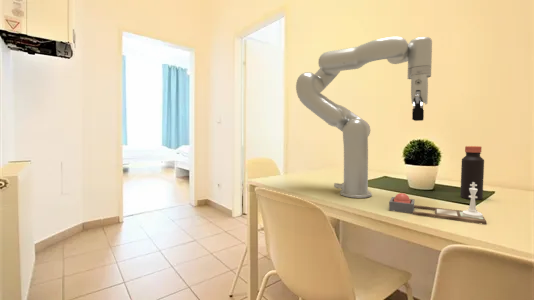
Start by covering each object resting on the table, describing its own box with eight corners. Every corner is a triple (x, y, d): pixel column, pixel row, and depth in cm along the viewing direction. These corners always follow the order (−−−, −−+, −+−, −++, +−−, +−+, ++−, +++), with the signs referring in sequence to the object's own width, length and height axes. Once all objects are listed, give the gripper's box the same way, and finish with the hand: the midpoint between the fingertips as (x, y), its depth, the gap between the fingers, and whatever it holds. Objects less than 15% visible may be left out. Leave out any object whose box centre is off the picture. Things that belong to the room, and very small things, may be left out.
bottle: (457, 195, 106) (459, 145, 104) (478, 196, 103) (480, 146, 102) (463, 199, 99) (465, 147, 98) (485, 200, 97) (488, 147, 95)
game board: (412, 214, 83) (412, 211, 83) (414, 207, 90) (414, 204, 90) (486, 224, 73) (486, 221, 73) (481, 215, 81) (481, 212, 81)
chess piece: (487, 218, 76) (488, 184, 75) (468, 217, 76) (469, 184, 75) (475, 212, 80) (477, 180, 80) (458, 212, 81) (459, 180, 80)
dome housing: (389, 210, 87) (389, 201, 87) (391, 205, 93) (392, 196, 93) (413, 213, 84) (413, 204, 83) (414, 208, 89) (414, 199, 89)
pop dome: (392, 207, 87) (393, 193, 87) (394, 204, 92) (394, 190, 91) (409, 209, 85) (410, 195, 84) (410, 206, 89) (411, 192, 89)
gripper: (431, 67, 86) (429, 119, 88) (431, 76, 101) (430, 120, 102) (405, 70, 90) (404, 120, 92) (409, 78, 105) (408, 121, 106)
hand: (418, 120), depth 97 cm, fingers open, 9 cm apart
